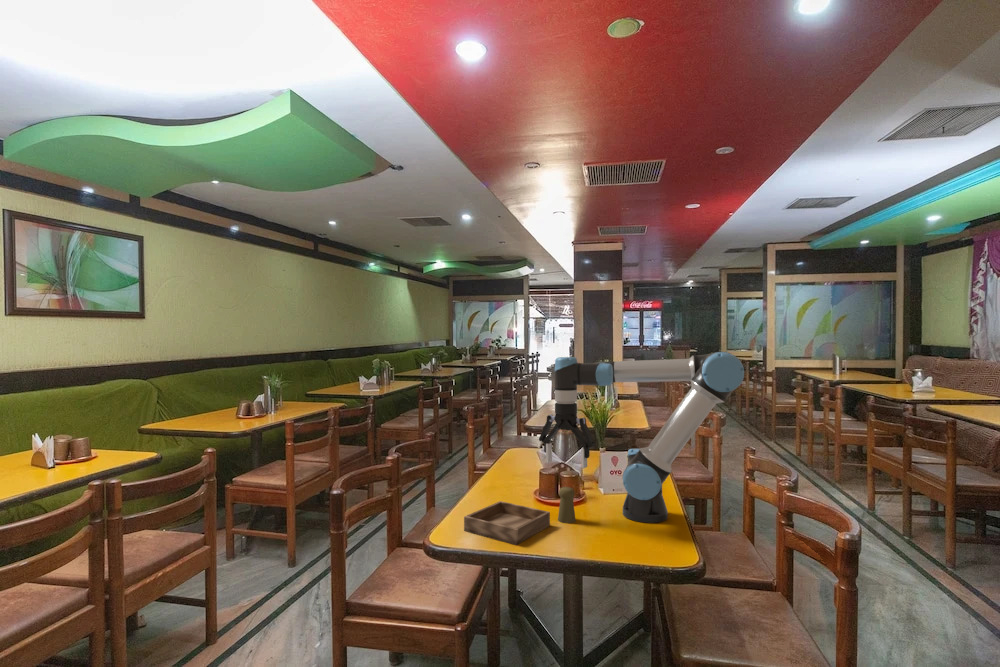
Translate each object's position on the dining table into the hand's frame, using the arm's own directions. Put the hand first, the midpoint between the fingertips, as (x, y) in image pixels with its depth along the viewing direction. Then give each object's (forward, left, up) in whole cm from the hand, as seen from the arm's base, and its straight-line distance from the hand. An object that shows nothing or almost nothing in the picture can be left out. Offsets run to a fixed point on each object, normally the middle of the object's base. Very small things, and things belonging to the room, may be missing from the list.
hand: (566, 464), depth 175 cm
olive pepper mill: (0, 0, -19) cm, 19 cm away
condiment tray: (+12, +18, -19) cm, 29 cm away
